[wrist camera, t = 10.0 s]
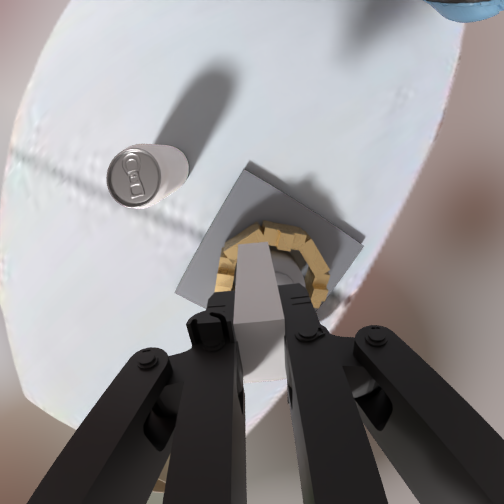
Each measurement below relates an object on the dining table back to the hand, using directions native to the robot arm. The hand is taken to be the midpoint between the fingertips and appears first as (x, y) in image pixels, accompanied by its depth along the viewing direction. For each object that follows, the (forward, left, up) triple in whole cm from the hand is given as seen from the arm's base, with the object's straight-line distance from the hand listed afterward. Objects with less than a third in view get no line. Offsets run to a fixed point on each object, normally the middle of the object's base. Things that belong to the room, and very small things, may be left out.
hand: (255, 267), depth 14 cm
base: (+7, +8, -23) cm, 25 cm away
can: (+2, -11, -23) cm, 26 cm away
